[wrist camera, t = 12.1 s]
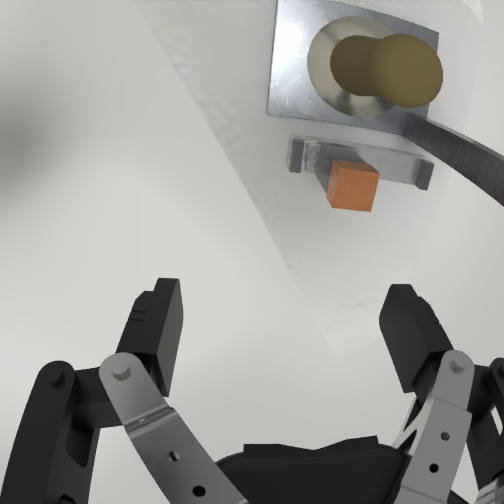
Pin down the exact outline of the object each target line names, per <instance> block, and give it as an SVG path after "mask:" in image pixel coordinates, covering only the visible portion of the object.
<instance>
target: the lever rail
mask: <svg viewBox="0 0 504 504" xmlns="http://www.w3.org/2000/svg"><path fill="white" fill-rule="evenodd" d="M308 143H315V144H323V145H330V146H338V147H345V148H351V149H358V150H359V151H360V152H361V158H362V159H363V160H364V161H365V162H366V163H367V164H369V165H372V166H373V167H374V168H375V169H376V170H377V171H378V172H379V173H380V175H379V179H383V180H389V181H396V182H402V183H408V184H414V185H416V186H417V187H418V188H419V189H422V190H427V189H428V186H429V182H430V178H431V175H432V171H433V167H434V164H433V163H432V162H430V161H429V160H427V159H426V158H425V157H423V156H419V155H415V154H410V153H405V152H400V151H395V150H390V149H385V148H380V147H374V146H368V145H362V144H356V143H350V142H343V141H337V140H330V139H322V138H314V137H306V136H297V135H290V141H289V149H288V157H287V165H288V168H289V171H290V172H296V173H301V169H304V168H305V161H306V154H307V147H308Z"/></svg>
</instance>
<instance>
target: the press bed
mask: <svg viewBox="0 0 504 504" xmlns="http://www.w3.org/2000/svg"><path fill="white" fill-rule="evenodd" d="M400 33H402V34H409V35H413V36H415V37H417V38H419V39H421V40H423V41H425V42H426V43H427V44H428V45H429V46H431V47H432V48H433V49H434V51H435V53H436V54H437V47H438V38H439V33H438V32H436V31H433V30H431V29H428V28H425V27H423V26H420V25H417V24H414V23H412V22H409V21H406V20H403V19H400V18H397V17H393V16H390V15H387V14H383V13H380V12H376V11H373V10H369V9H365V8H361V7H357V6H353V5H349V4H345V3H340V2H335V1H330V0H277V9H276V19H275V30H274V40H273V51H272V61H271V72H270V82H269V93H268V103H267V115H273V116H283V117H292V118H301V119H309V120H317V121H324V122H331V123H337V124H344V125H350V126H356V127H361V128H367V129H372V130H377V131H382V132H387V133H392V134H397V135H401V136H403V137H405V138H407V139H408V140H410V141H412V142H413V143H415V144H416V145H418V146H420V147H421V148H423V149H424V150H426V151H428V152H429V153H431V154H432V155H434V156H435V157H437V158H438V159H440V160H441V161H443V162H444V163H446V164H447V165H449V166H450V167H452V168H453V169H455V170H456V171H458V172H459V173H460V174H462V175H463V176H464V177H466V178H467V179H469V180H470V181H471V182H473V183H474V184H475V185H477V186H478V187H479V188H481V189H482V190H483V191H485V192H486V193H487V194H489V195H490V196H491V197H492V198H494V199H495V200H496V201H497V202H499V203H500V204H501V205H502V206H504V156H502V155H501V154H499V153H497V152H495V151H494V150H492V149H490V148H488V147H486V146H484V145H482V144H480V143H479V142H477V141H475V140H472V139H471V138H469V137H467V136H465V135H463V134H461V133H459V132H457V131H455V130H453V129H451V128H448V127H446V126H444V125H442V124H440V123H438V122H435V121H433V120H431V119H428V118H427V113H428V107H429V103H428V104H427V105H425V106H421V107H417V108H402V107H400V106H398V105H395V104H393V103H390V102H388V101H387V100H386V99H385V98H383V97H382V96H356V95H353V94H350V93H348V92H347V91H345V90H344V89H342V88H341V87H340V86H339V85H338V83H337V82H336V81H335V80H334V78H333V75H332V72H331V70H330V57H331V53H332V50H333V49H334V47H335V46H336V45H337V43H338V42H340V41H341V40H342V39H344V38H345V37H349V36H353V35H362V36H369V37H374V38H379V39H383V38H384V37H386V36H389V35H394V34H400Z"/></svg>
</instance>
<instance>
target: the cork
mask: <svg viewBox="0 0 504 504" xmlns="http://www.w3.org/2000/svg"><path fill="white" fill-rule="evenodd" d="M330 70H331V72H332V75H333V78H334V80H335V81H336V82H337V83H338V85H339V86H340V87H341V88H342V89H344V90H345V91H347V92H348V93H350V94H353V95H356V96H382V97H383V98H385V99H386V100H387V101H388V102H390V103H393V104H395V105H398V106H400V107H402V108H417V107H421V106H425V105H427V104H428V103H430V102H431V101H432V100H434V98H435V97H436V96H437V94H438V93H439V91H440V89H441V85H442V82H443V70H442V66H441V62H440V59H439V58H438V56H437V54H436V53H435V51H434V49H433V48H432V47H431V46H429V45H428V44H427V43H426V42H425V41H423V40H421V39H419V38H417V37H415V36H413V35H409V34H402V33H400V34H394V35H389V36H386V37H384V38H383V39H379V38H374V37H369V36H362V35H353V36H349V37H345V38H344V39H342V40H341V41H340V42H338V43H337V45H336V46H335V47H334V49H333V50H332V53H331V57H330Z"/></svg>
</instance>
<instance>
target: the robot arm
mask: <svg viewBox="0 0 504 504" xmlns="http://www.w3.org/2000/svg"><path fill="white" fill-rule="evenodd" d="M182 325H183V305H182V297H181V289H180V281H179V279H173V278H158V280H157V282H156V285H155V288H154V291H144V292H143V293H142V294H141V295H140V296H139V297H138V298H137V299H136V300H135V302H134V305H133V307H132V310H131V313H130V315H129V318H128V321H127V323H126V325H125V328H124V331H123V333H122V336H121V339H120V342H119V344H118V347H117V350H116V352H115V354H113V355H111V356H109V357H108V358H106V359H105V360H104V361H103V362H102V364H101V366H99V367H97V368H90V369H84V370H74V369H73V367H72V366H71V365H70V364H69V363H67V362H65V361H53V362H50V363H48V364H46V365H45V366H44V367H43V368H42V369H41V370H40V371H39V373H38V375H37V378H36V380H35V383H34V386H33V389H32V391H31V394H30V396H29V399H28V402H27V404H26V407H25V410H24V413H23V416H22V419H21V422H20V425H19V428H18V431H17V434H16V438H15V441H14V444H13V448H12V451H11V455H10V458H9V462H8V466H7V470H6V474H5V478H4V482H3V486H2V491H1V495H0V504H88V498H89V490H90V483H91V477H92V472H93V466H94V460H95V454H96V449H97V444H98V439H99V434H100V429H101V428H106V427H114V426H122V425H123V426H124V428H125V431H126V432H127V434H128V436H129V438H130V440H131V442H132V443H133V445H134V447H135V449H136V450H137V452H138V454H139V456H140V457H141V459H142V461H143V462H144V464H145V466H146V467H147V469H148V470H149V472H150V474H151V475H152V477H153V478H154V480H155V481H156V483H157V484H158V486H159V488H160V489H161V491H162V492H163V493H164V495H165V496H166V498H167V499H168V501H169V502H170V504H469V503H468V502H467V501H465V500H464V499H463V498H461V497H460V496H459V495H457V494H456V493H455V492H453V491H452V490H451V487H452V484H453V481H454V478H455V475H456V472H457V469H458V466H459V463H460V460H461V456H462V453H463V450H464V446H465V443H467V447H468V450H469V454H470V457H471V461H472V465H473V469H474V473H475V477H476V480H477V485H478V490H479V493H478V495H477V500H476V502H474V504H504V358H496V359H494V361H493V362H492V363H491V364H490V366H489V367H486V366H480V365H474V364H473V362H472V360H471V359H470V358H469V356H468V355H466V354H465V353H463V352H461V351H458V350H454V348H453V347H452V345H451V342H450V341H449V339H448V337H447V335H446V333H445V331H444V329H443V328H442V326H441V324H439V320H438V319H437V317H436V316H435V313H434V311H433V310H432V308H431V306H430V305H429V304H428V303H427V302H426V301H425V300H424V299H423V298H422V297H418V296H417V294H416V292H415V291H414V289H413V287H412V286H411V285H410V284H392V285H391V286H390V288H389V290H388V293H387V296H386V299H385V302H384V304H383V307H382V310H381V312H380V317H379V325H380V329H381V332H382V334H383V337H384V340H385V342H386V345H387V347H388V350H389V353H390V355H391V358H392V360H393V364H394V366H395V369H396V372H397V375H398V377H399V380H400V383H401V386H402V389H403V392H404V393H409V392H415V394H416V397H415V398H414V400H413V402H412V405H411V407H410V409H409V412H408V414H407V416H406V419H405V421H404V424H403V426H402V428H401V431H400V432H399V435H398V437H397V438H396V440H395V442H394V443H393V444H392V446H388V445H384V444H379V443H378V438H377V436H369V437H362V438H354V439H347V440H343V441H341V442H338V443H335V444H332V445H329V446H326V447H323V448H320V449H316V450H310V449H303V448H298V447H292V446H287V445H281V444H244V449H243V452H240V453H236V454H233V455H230V456H227V457H225V458H223V459H220V460H218V461H217V462H214V461H213V460H212V459H211V457H210V456H209V455H208V453H207V452H206V451H205V450H204V448H203V447H202V446H201V444H200V443H199V442H198V440H197V439H196V438H195V436H194V435H193V434H192V432H191V431H190V430H189V428H188V427H187V425H186V424H185V423H184V421H183V420H182V418H181V417H180V416H179V414H178V413H177V412H176V410H175V409H174V408H172V407H169V405H168V404H167V402H166V401H165V399H164V398H163V397H169V392H170V387H171V381H172V376H173V370H174V365H175V360H176V355H177V350H178V345H179V340H180V335H181V331H182ZM495 407H496V408H497V411H498V414H499V416H500V419H501V422H502V426H503V429H502V433H501V435H500V436H499V433H498V430H497V427H496V424H495V422H494V419H493V416H492V414H491V411H492V410H493V409H494V408H495Z"/></svg>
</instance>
